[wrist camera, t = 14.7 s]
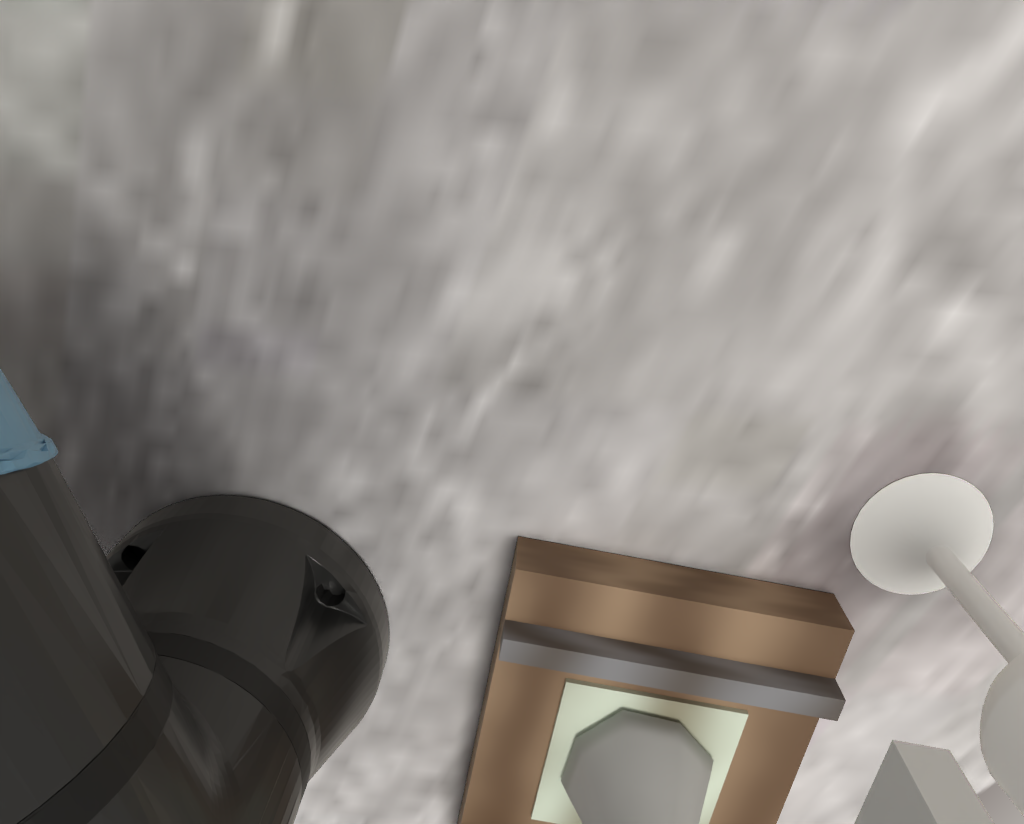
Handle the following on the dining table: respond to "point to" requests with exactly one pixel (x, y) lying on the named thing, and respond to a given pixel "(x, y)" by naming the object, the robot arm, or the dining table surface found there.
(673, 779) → the flask
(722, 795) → the dock
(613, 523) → the dining table surface
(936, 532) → the champagne flute
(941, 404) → the dining table surface
